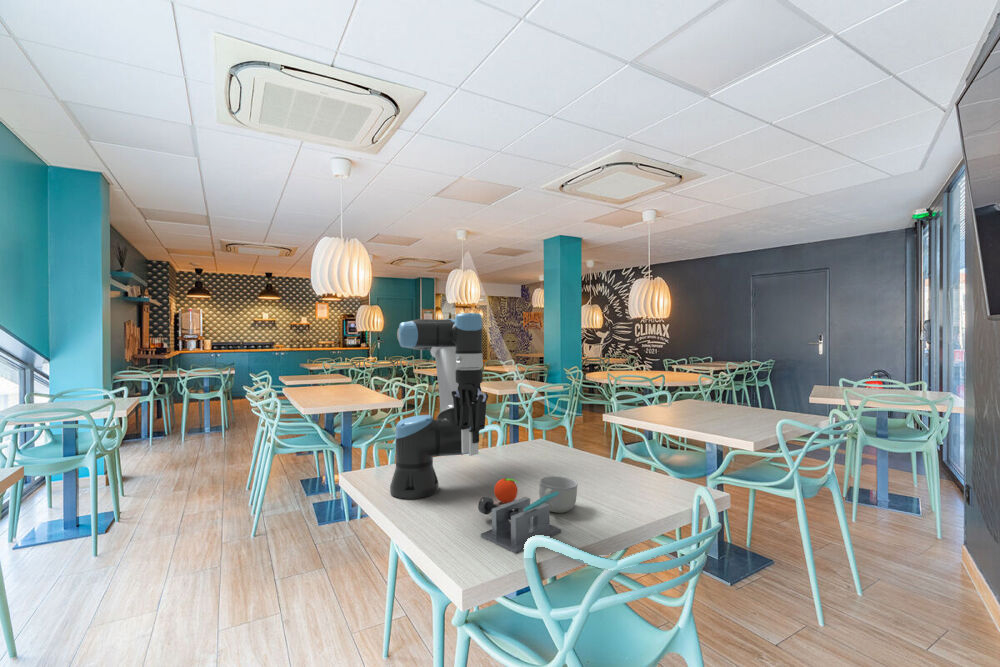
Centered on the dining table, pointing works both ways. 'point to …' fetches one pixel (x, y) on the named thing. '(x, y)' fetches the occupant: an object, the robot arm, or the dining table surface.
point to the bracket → (519, 524)
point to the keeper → (540, 501)
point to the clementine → (505, 490)
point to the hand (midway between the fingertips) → (469, 453)
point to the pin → (490, 506)
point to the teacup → (565, 489)
